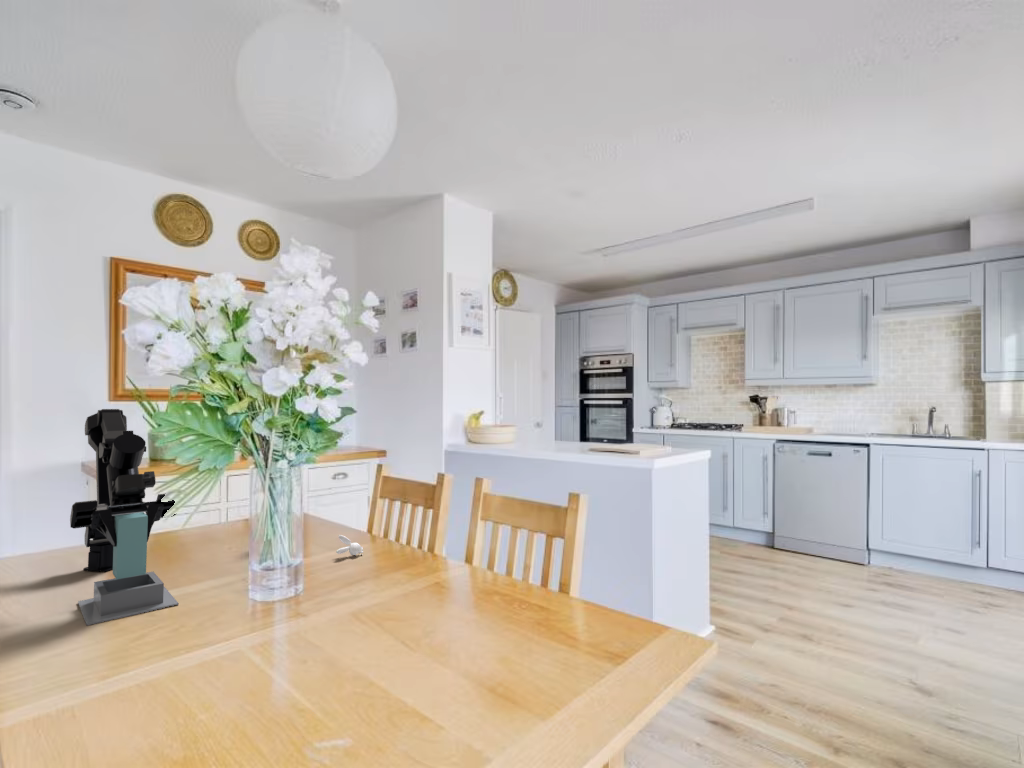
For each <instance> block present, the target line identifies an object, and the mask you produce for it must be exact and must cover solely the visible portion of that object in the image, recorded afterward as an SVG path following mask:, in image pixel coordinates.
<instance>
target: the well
mask: <svg viewBox="0 0 1024 768" xmlns="http://www.w3.org/2000/svg"><path fill="white" fill-rule="evenodd" d="M164 585H165V584H164V582H163V581H162V579H161V578H160V577H159V576H158V574H157V573H155V572H154V571H149V572H147V571H146V574H144V575H138V576H133V577H127V578H122V579H116V578H115V577H114V578H110V579H109V578H108V579H105V580H98V581H94V582H93V598H86V599H83V600H78V602H77V604H78V606H79V609H80V613H81V614H82V617H83V620H84V621H85V625H86V626H90V625H95V624H100V623H105V622H110V621H113V619H114V620H116V619H122V618H127V617H132V616H135V615H140V613H141V614H145V613H149V611H150V612H154V611H157V609H159V610H162V608H163V609H166V608H165V607H168V608H170V607H169V606H172V607H175V606H174V605H177V606H179V605H178V604H179V601H177V600H176V599H175V597H174V595H173V594H171V592H170V591H169V590H168V589H167V588H166V586H164ZM153 610H154V611H153ZM144 612H145V613H144ZM104 621H105V622H104Z"/></svg>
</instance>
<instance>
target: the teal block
mask: <svg viewBox="0 0 1024 768" xmlns="http://www.w3.org/2000/svg"><path fill="white" fill-rule="evenodd" d="M114 528H115V533H116V537H117V546H116V547H114V546H113V569H112V575H113V576H114V578H116V579H122V578H127V577H133V576H138V575H144V574H146V573H147V554H148V552H147V551H148V542H147V528H148V516H147V515H146V512H140V513H131V514H123V515H115V517H114Z"/></svg>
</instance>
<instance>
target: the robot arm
mask: <svg viewBox="0 0 1024 768" xmlns="http://www.w3.org/2000/svg"><path fill="white" fill-rule="evenodd" d="M127 423H128V422H127V416H126V415H124V411H123V410H122V409H120V408H102V409H98V410H97V412H96V413H94V414H92V415H89V416H87V417H86V420H85V424H84V436H87V445H89V446H90V447H91V449H92V450H93V451H94V452H95V463H96V464H95V465H96V466H95V468H96V471H95V472H96V473H95V474H96V499H95V500H94V499H93V500H85V501H75V502H74V503H73V504H72V506H71V511H70V516H69V517H70V518H69V521H70V523H69V524H70V528H72V529H80V528H81V529H82V528H85V531H84V545H85V547H86V548H89V552H88V554H87V555H88V556H87V557H88V558H87V559H88V560H87V566H85V567H83V571H90V572H91V571H92V572H108V571H111V570H112V571H113V546H114V547H116V546H117V537H116V533H115V528H114V517H115V515H123V514H132V513H140V512H144V513H145V514H146V515H147V516H148V528H147V543H148V541H149V539H150V534H151V531H152V527H153V525H155V522H159V521H161V519H163V516H164V514H165V513H166V512H167V510H169V509H170V508H171V507H172V506H173V505H174V503H175V501H174V500H172V501H168V502H161V499H162V498H163V497H164V496H165V494H166V493H158V494H157V497H156V500H153V501H147V502H146V501H143V499H145V497H146V491H145V490H146V489H148V488H149V489H150V488H154V486H155V485H156V482H157V481H156V474H155V471H154V470H153V471H144V473H139V472H140V471H139V467H140V465H141V463H142V460H143V457H144V453H146V452H147V446H146V445H147V444H146V440H145V439H144V438H143V436H142V437H141V436H140V435H139V434H138V435H137V434H135V433H134V430H128V424H127ZM176 515H177V513H176V514H174V515H173V516H171V517H175V516H176Z"/></svg>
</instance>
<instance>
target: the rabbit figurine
mask: <svg viewBox="0 0 1024 768" xmlns="http://www.w3.org/2000/svg"><path fill="white" fill-rule="evenodd" d="M338 539H339V540H340V541H341V543H343V544H344V545H347V546H343V547H340V548H338V549H337V550H336V554H340V555H341V554H345V553H347V552H348V553H349V555H351V556H352V555H355V556H356V554H357V555H358V554H361V553H363V552H364V548H363V546H361V544H359V543H358V542H352V540H351V539H349V538H348V537H347V536H345V535H342V534H338ZM363 554H364V553H363Z"/></svg>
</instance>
